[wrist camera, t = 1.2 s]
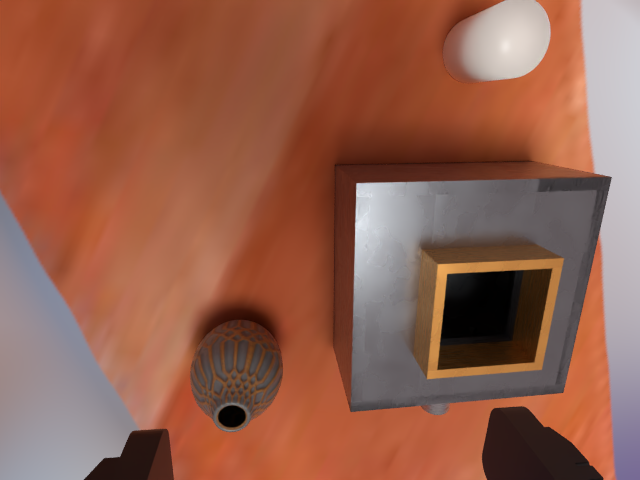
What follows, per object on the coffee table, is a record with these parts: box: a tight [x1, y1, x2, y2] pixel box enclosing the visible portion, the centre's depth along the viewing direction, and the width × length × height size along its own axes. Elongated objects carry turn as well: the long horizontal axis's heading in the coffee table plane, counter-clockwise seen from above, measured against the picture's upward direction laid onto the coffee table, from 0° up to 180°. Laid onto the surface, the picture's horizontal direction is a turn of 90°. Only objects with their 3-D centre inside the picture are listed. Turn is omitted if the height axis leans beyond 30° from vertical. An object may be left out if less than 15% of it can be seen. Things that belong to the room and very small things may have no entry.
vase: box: [190, 320, 283, 432], centre depth 30 cm, size 7×7×9 cm
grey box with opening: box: [333, 161, 612, 415], centre depth 29 cm, size 20×16×10 cm
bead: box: [443, 0, 550, 83], centre depth 27 cm, size 4×4×6 cm
